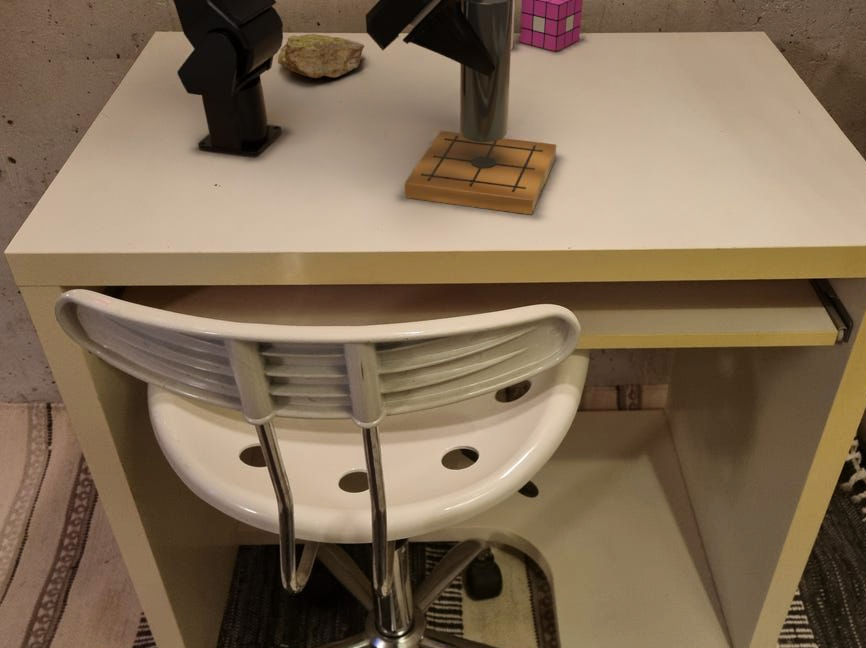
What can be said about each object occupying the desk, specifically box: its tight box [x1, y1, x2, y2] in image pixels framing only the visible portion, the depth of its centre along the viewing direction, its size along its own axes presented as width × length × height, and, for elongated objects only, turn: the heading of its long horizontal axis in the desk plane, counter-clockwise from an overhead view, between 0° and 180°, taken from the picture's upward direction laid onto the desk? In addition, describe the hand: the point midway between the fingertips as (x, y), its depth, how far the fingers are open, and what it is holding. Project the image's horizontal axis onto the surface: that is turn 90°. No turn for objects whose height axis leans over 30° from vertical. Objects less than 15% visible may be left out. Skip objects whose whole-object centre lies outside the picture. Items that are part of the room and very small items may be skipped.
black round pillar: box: [459, 0, 513, 142], centre depth 75 cm, size 4×4×12 cm
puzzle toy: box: [519, 0, 584, 53], centre depth 109 cm, size 6×6×6 cm
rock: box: [277, 33, 365, 79], centre depth 102 cm, size 13×10×4 cm
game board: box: [404, 130, 557, 215], centre depth 81 cm, size 12×12×2 cm
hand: (499, 62), depth 74 cm, fingers closed on black round pillar, 4 cm apart
